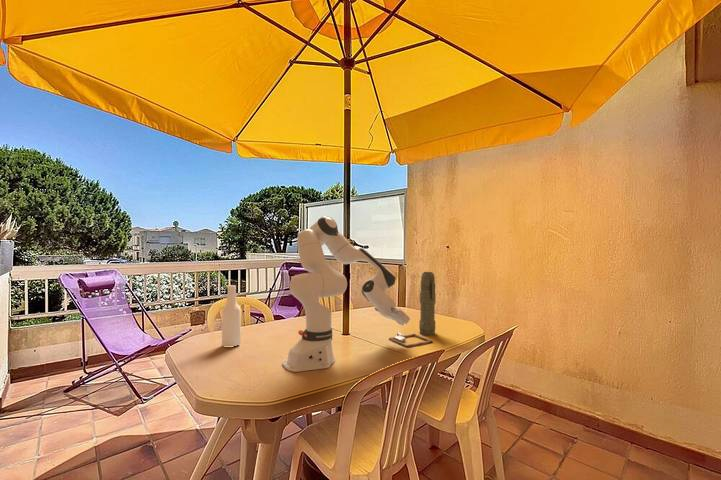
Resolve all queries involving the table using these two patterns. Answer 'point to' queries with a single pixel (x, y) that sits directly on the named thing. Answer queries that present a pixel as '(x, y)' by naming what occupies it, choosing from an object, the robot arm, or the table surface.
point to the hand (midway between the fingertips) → (402, 323)
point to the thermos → (427, 304)
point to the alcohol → (231, 319)
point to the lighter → (400, 337)
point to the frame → (426, 341)
